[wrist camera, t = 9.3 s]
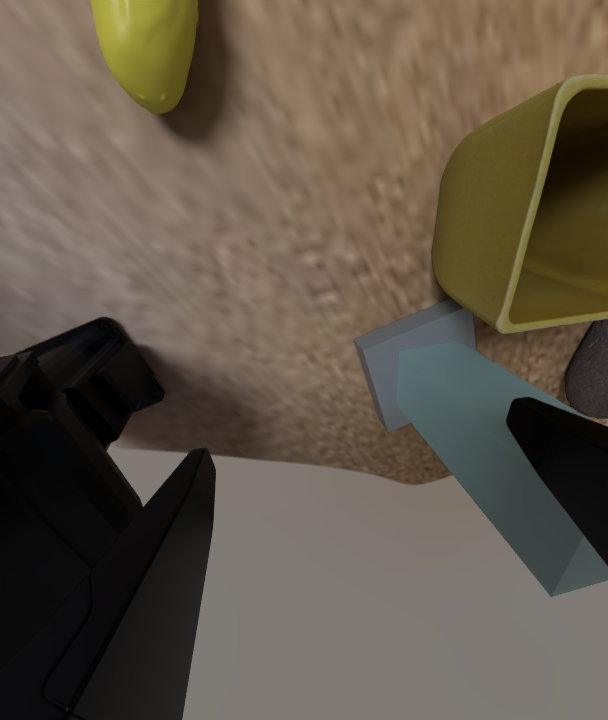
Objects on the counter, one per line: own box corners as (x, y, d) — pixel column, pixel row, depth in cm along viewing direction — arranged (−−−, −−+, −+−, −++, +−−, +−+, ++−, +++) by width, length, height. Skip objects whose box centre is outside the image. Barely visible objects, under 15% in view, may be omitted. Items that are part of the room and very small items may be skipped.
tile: (378, 417, 26) (388, 432, 24) (353, 339, 22) (363, 350, 20) (463, 381, 26) (480, 394, 24) (453, 296, 22) (472, 304, 20)
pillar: (396, 404, 23) (551, 596, 11) (399, 351, 21) (591, 521, 9) (450, 393, 23) (650, 567, 12) (458, 341, 21) (709, 489, 10)
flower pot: (512, 277, 22) (662, 314, 14) (402, 290, 21) (498, 337, 13) (548, 131, 18) (784, 69, 10) (415, 137, 17) (564, 72, 9)
